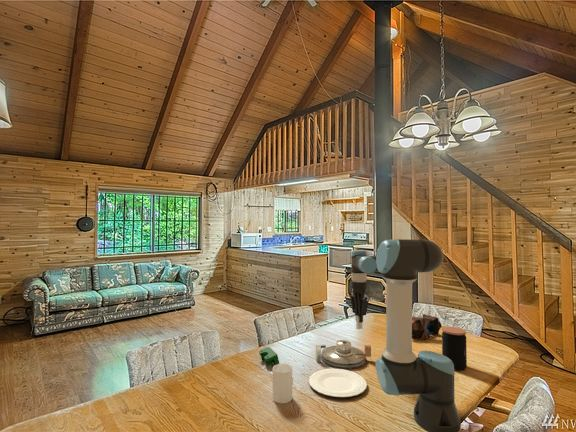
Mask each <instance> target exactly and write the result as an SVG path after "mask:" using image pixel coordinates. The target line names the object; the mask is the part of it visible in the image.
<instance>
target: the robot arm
mask: <svg viewBox="0 0 576 432" xmlns="http://www.w3.org/2000/svg"><path fill="white" fill-rule="evenodd" d="M444 258H445V257H444V252H443V249H442V248H441V247H440V246H439V244H437V243H436V242H434V241H433V240H428V239H421V238H420V239H404V238H403V239H398V238H394V239H393V238H392V239H385V240H383V241H382V242H381V243H380V244H379V245H378V248H377V251H376V255H368V254H367V251H366V250H364V249H355V250H354V249H353V250H352V251H351V255H350V259H351V260H350V261H351V262H350V263H351V269H350V271H351V276H350V277H351V286H350V287H351V289H352V291H351V292H349V293H348V295H349V299H350V304H351V305H350V306H351V312H352V313H354V314H355V322H356V324H355V326H356V328H355V329H357V330H361V329H363V323H364V316H367V313H368V307H369V301H370V300H371V297H370V296H368V295H367V292H366V290H367V287H368V283H367V279H368V277H367V275H368V274H372V273H380V274H381V278H382V279H384V280H385V282H386V283H385V284H386V290H385V291H386V292H385V295H386V299H385V301H386V303H385V304H386V305H385V306H386V307H385V308H386V313H385V316H386V318H385V319H386V320H385V322H386V324H385V326H386V328H385V332H386V337H385V348H384V349H383V350H382V351H381V358H376V361H375V372H376V376H377V377H376V378H377V380H378V383H379V385H380V387H381V389H382V391H383V392H384V393H385V395H389V396H403V395H404V396H406V395H407V396H409V395H418V397H417V399H416V402H415V404H414V407H413V419H414V421H415V422H416V423H417V425H419V426H420V427H421V428H423V429H425V430H427V431H429V432H460V430H461V428H462V427H461V425H462V424H461V418H460V415H459V412H458V409H457V405H456V403H455V374H456V372H455V370H454V364H453V362H452V361H451V360H450V359H449V358H448V357H446V356H444V355H442V353H439V352H436V351H431V350H420V351H418V353H417V355H416V354H415V353H414V351H412V350H413V340H412V339H413V336H412V316H413V283H414V282H416V281H417V280H418V273H430V272H433V271H436V270H438V269H439V268H441V266H442V264H443V263H444Z"/></svg>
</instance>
